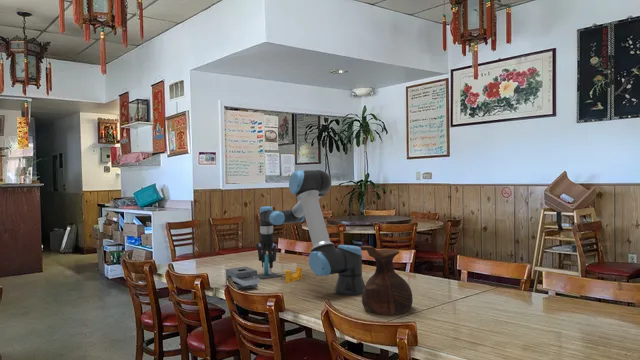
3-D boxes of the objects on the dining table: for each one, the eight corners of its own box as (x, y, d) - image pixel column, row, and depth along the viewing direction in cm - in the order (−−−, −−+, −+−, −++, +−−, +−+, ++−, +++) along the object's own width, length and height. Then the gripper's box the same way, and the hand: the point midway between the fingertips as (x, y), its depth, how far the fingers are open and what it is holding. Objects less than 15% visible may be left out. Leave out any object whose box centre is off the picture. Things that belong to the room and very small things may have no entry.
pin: (271, 275, 284) (270, 254, 283) (266, 275, 282) (266, 255, 282) (268, 274, 286) (268, 253, 286) (264, 275, 284) (263, 254, 284)
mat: (281, 276, 282) (281, 275, 282) (262, 279, 276) (262, 278, 276) (272, 272, 292) (272, 272, 292) (253, 275, 286) (253, 274, 286)
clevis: (262, 288, 253) (262, 272, 253) (241, 292, 247) (240, 275, 247) (246, 281, 270) (246, 266, 270) (226, 284, 264) (225, 269, 264)
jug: (359, 306, 217) (358, 239, 217) (408, 306, 217) (407, 238, 216) (362, 322, 196) (361, 247, 195) (416, 321, 195) (415, 246, 194)
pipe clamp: (296, 278, 278) (295, 266, 278) (302, 278, 276) (302, 267, 276) (282, 282, 268) (282, 270, 268) (289, 283, 266) (289, 271, 266)
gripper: (281, 232, 283) (282, 273, 284) (258, 231, 290) (259, 271, 291) (275, 234, 277) (276, 275, 277) (251, 233, 283) (252, 273, 284)
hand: (267, 273), depth 284 cm, fingers closed on pin, 3 cm apart
